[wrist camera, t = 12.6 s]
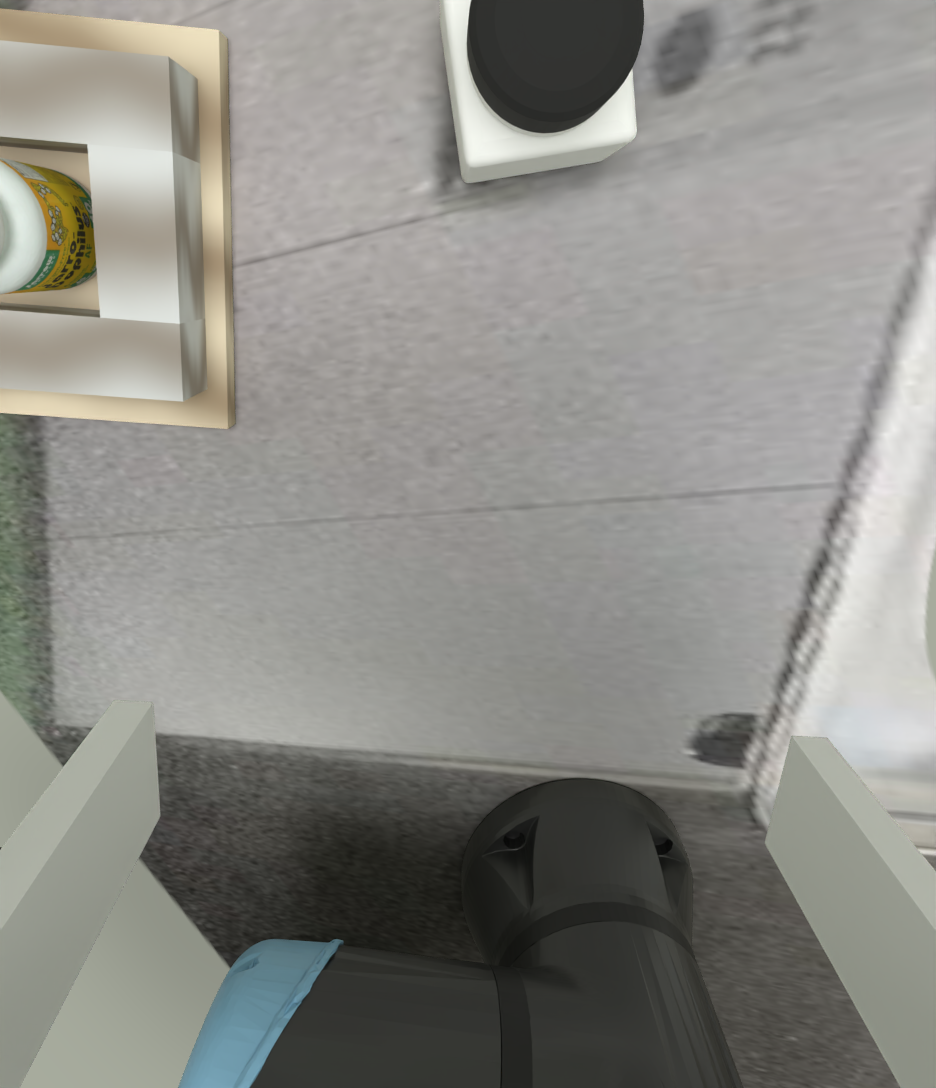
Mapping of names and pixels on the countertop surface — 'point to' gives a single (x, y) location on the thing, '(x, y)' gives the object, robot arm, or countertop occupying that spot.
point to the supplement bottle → (43, 230)
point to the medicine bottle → (539, 82)
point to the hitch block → (125, 220)
